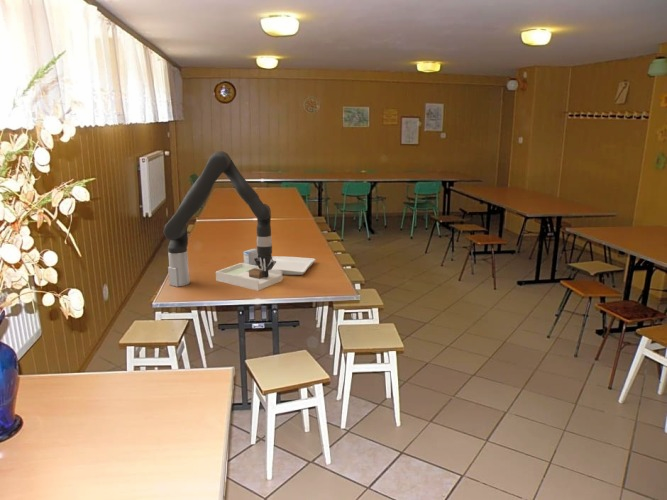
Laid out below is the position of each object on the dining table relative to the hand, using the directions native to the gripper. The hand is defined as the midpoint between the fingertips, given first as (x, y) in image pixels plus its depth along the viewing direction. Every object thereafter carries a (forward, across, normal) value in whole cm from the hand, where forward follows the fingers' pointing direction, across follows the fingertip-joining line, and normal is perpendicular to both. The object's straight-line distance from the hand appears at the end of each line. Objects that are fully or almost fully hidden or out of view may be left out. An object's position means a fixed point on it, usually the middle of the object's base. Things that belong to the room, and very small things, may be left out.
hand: (265, 277), depth 265 cm
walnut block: (+1, -6, 0) cm, 6 cm away
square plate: (+4, -8, +27) cm, 29 cm away
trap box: (+4, -11, 0) cm, 12 cm away
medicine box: (+4, -30, +22) cm, 37 cm away
